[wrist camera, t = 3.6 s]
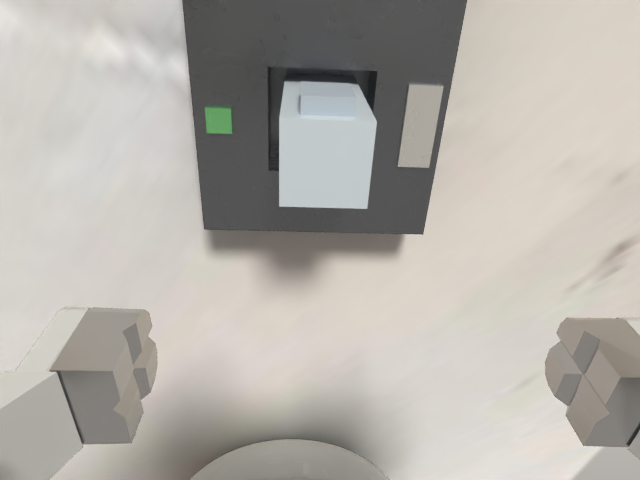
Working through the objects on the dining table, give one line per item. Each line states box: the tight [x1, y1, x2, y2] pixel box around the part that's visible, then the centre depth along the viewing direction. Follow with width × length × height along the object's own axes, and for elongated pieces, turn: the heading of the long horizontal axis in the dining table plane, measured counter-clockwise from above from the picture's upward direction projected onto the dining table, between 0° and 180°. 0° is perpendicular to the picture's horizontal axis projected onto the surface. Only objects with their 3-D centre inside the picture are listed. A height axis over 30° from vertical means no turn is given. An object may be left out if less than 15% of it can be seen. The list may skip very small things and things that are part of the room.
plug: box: [279, 74, 377, 209], centre depth 20 cm, size 4×4×8 cm
